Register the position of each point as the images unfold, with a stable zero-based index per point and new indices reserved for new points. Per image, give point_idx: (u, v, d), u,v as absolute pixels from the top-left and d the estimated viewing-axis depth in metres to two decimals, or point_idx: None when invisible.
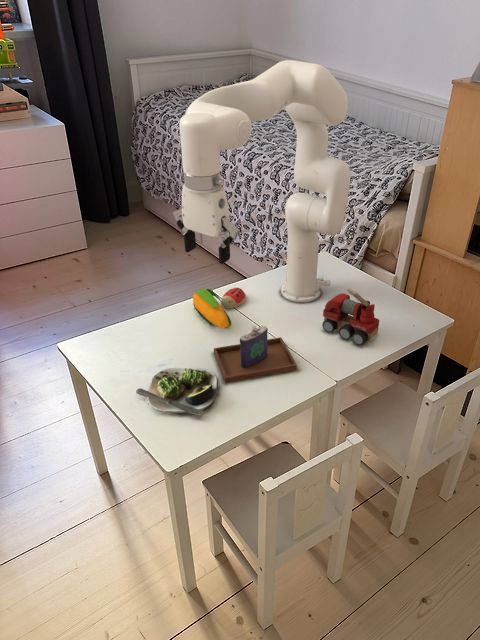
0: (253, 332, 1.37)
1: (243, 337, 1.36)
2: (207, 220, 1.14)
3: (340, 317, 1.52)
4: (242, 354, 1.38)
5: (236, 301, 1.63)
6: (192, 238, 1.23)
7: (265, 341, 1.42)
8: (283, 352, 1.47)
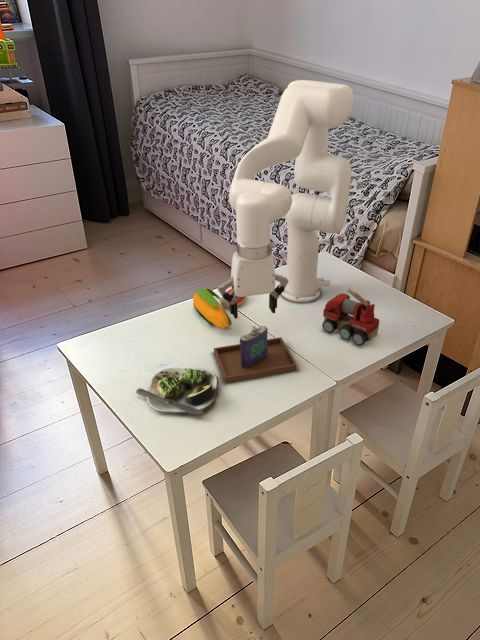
0: (253, 332, 1.37)
1: (243, 337, 1.36)
2: (266, 281, 1.27)
3: (340, 317, 1.52)
4: (242, 354, 1.38)
5: (236, 301, 1.63)
6: None
7: (265, 341, 1.42)
8: (283, 352, 1.47)
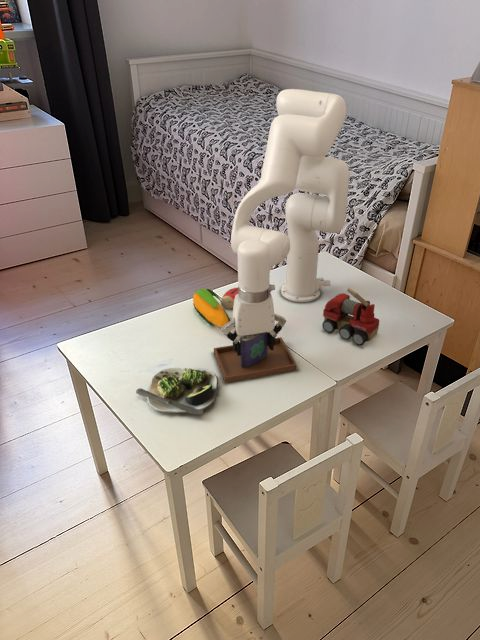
0: None
1: (243, 337, 1.36)
2: (266, 320, 1.34)
3: (340, 317, 1.52)
4: (242, 354, 1.38)
5: None
6: None
7: (265, 341, 1.42)
8: (283, 352, 1.47)
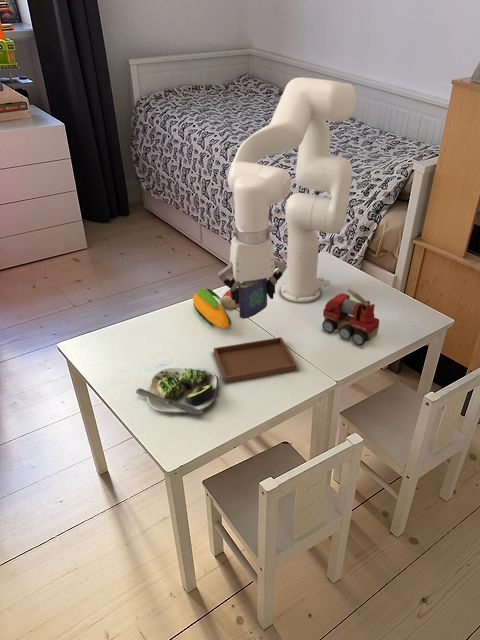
0: None
1: (241, 284, 1.29)
2: (265, 265, 1.26)
3: (340, 317, 1.52)
4: (241, 303, 1.31)
5: None
6: None
7: (265, 289, 1.34)
8: (283, 352, 1.47)
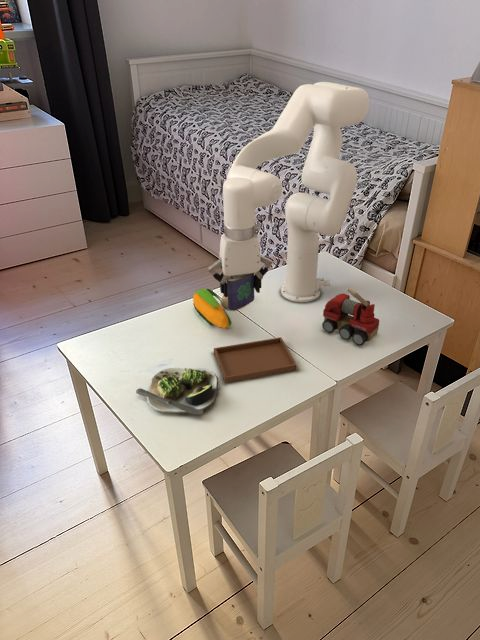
0: None
1: (230, 278, 1.39)
2: (252, 260, 1.37)
3: (340, 317, 1.52)
4: (229, 295, 1.41)
5: None
6: None
7: (252, 284, 1.45)
8: (283, 352, 1.47)
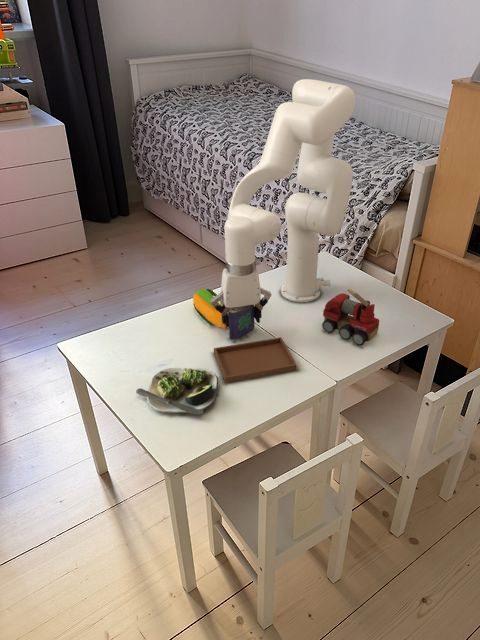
0: None
1: (231, 309, 1.46)
2: (252, 293, 1.43)
3: (340, 317, 1.52)
4: (230, 326, 1.47)
5: None
6: None
7: (252, 314, 1.51)
8: (283, 352, 1.47)
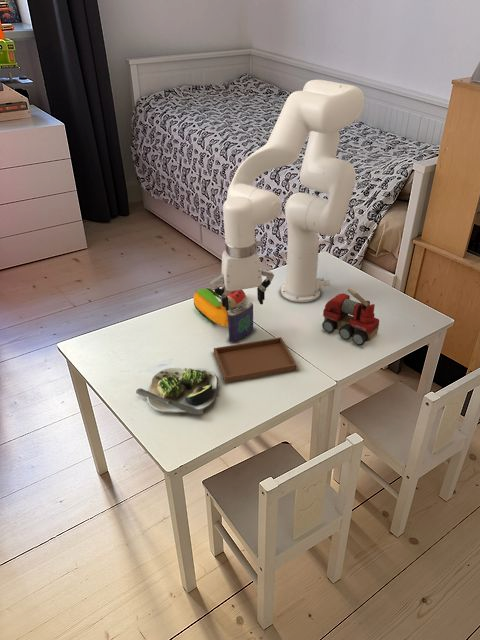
0: (240, 307, 1.46)
1: (231, 312, 1.46)
2: (253, 276, 1.40)
3: (340, 317, 1.52)
4: (230, 328, 1.48)
5: (236, 301, 1.63)
6: None
7: (251, 316, 1.51)
8: (283, 352, 1.47)
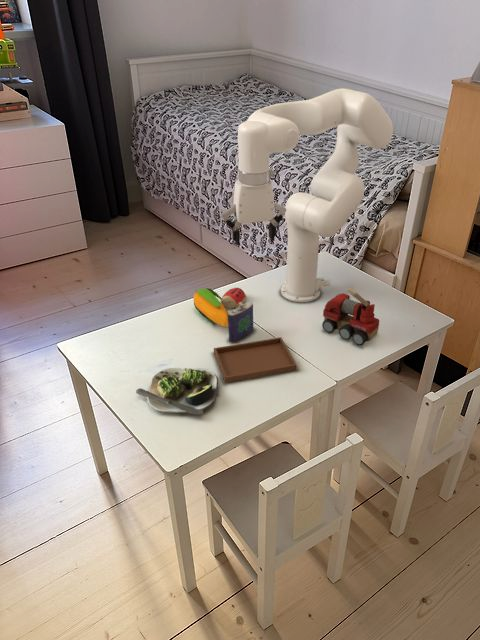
0: (240, 307, 1.46)
1: (230, 312, 1.46)
2: (266, 207, 1.38)
3: (340, 317, 1.52)
4: (230, 328, 1.48)
5: (236, 301, 1.63)
6: None
7: (251, 316, 1.51)
8: (283, 352, 1.47)
